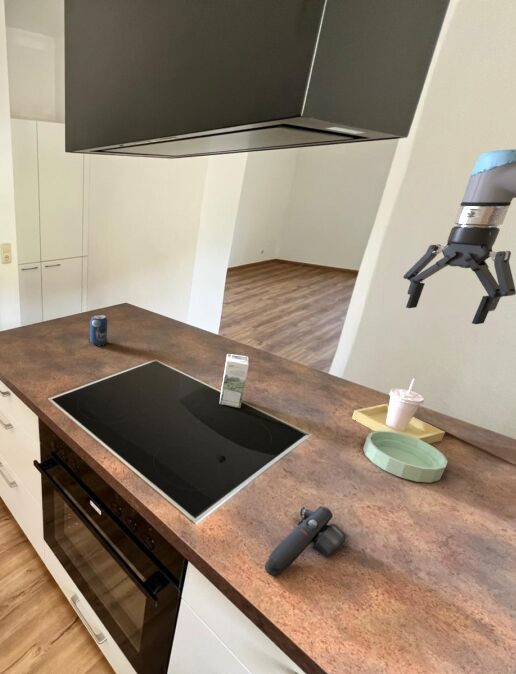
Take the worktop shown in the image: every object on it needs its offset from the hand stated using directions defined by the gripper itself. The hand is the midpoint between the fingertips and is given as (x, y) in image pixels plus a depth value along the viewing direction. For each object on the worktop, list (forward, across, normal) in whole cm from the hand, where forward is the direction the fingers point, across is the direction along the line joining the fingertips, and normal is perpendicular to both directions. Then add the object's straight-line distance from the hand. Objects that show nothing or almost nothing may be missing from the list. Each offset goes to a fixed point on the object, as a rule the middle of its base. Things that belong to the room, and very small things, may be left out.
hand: (442, 315), depth 89 cm
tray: (+29, +4, -10) cm, 31 cm away
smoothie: (+28, +4, -10) cm, 31 cm away
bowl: (+29, +14, -23) cm, 39 cm away
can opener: (+29, +25, -64) cm, 74 cm away
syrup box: (+29, -19, -42) cm, 54 cm away
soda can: (+29, -74, -63) cm, 101 cm away
